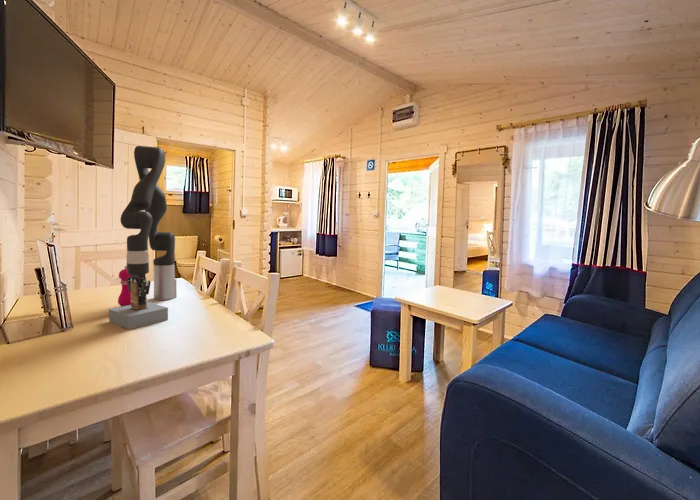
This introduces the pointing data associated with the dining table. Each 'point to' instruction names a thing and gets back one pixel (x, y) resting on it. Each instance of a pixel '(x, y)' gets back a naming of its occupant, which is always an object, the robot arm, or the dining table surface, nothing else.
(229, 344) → the dining table surface
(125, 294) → the pepper mill
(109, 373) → the dining table surface
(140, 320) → the socket board
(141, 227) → the robot arm
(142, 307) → the walnut peg
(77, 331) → the dining table surface
